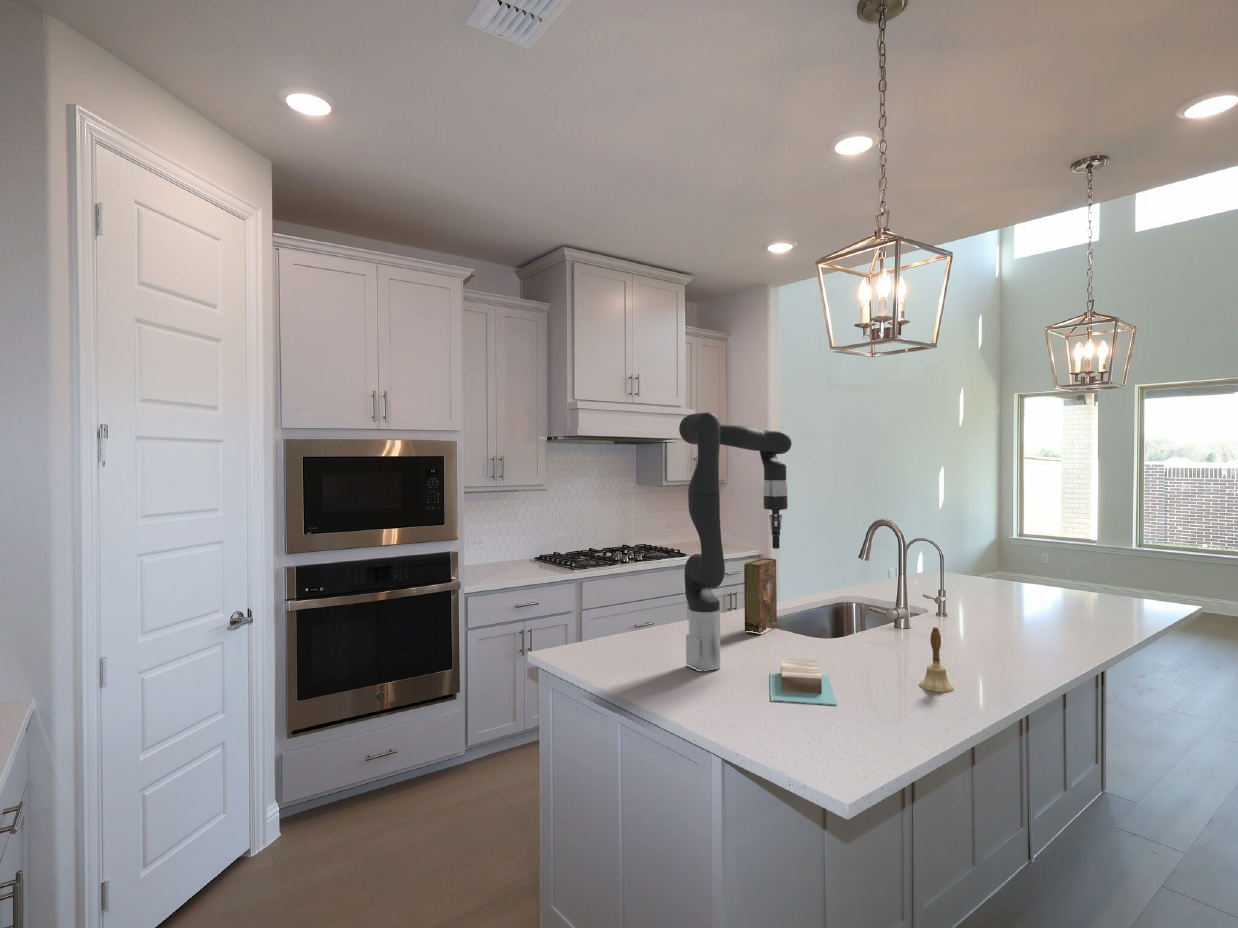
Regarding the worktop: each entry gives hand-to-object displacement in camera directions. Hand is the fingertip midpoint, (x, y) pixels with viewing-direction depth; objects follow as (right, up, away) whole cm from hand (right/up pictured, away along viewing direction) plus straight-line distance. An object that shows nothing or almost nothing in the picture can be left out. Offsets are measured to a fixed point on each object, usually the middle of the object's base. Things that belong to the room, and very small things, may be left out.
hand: (775, 548), depth 210 cm
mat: (-2, -33, -36) cm, 49 cm away
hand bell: (+34, -33, -35) cm, 59 cm away
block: (+1, -31, -24) cm, 39 cm away
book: (+1, -33, +27) cm, 43 cm away
